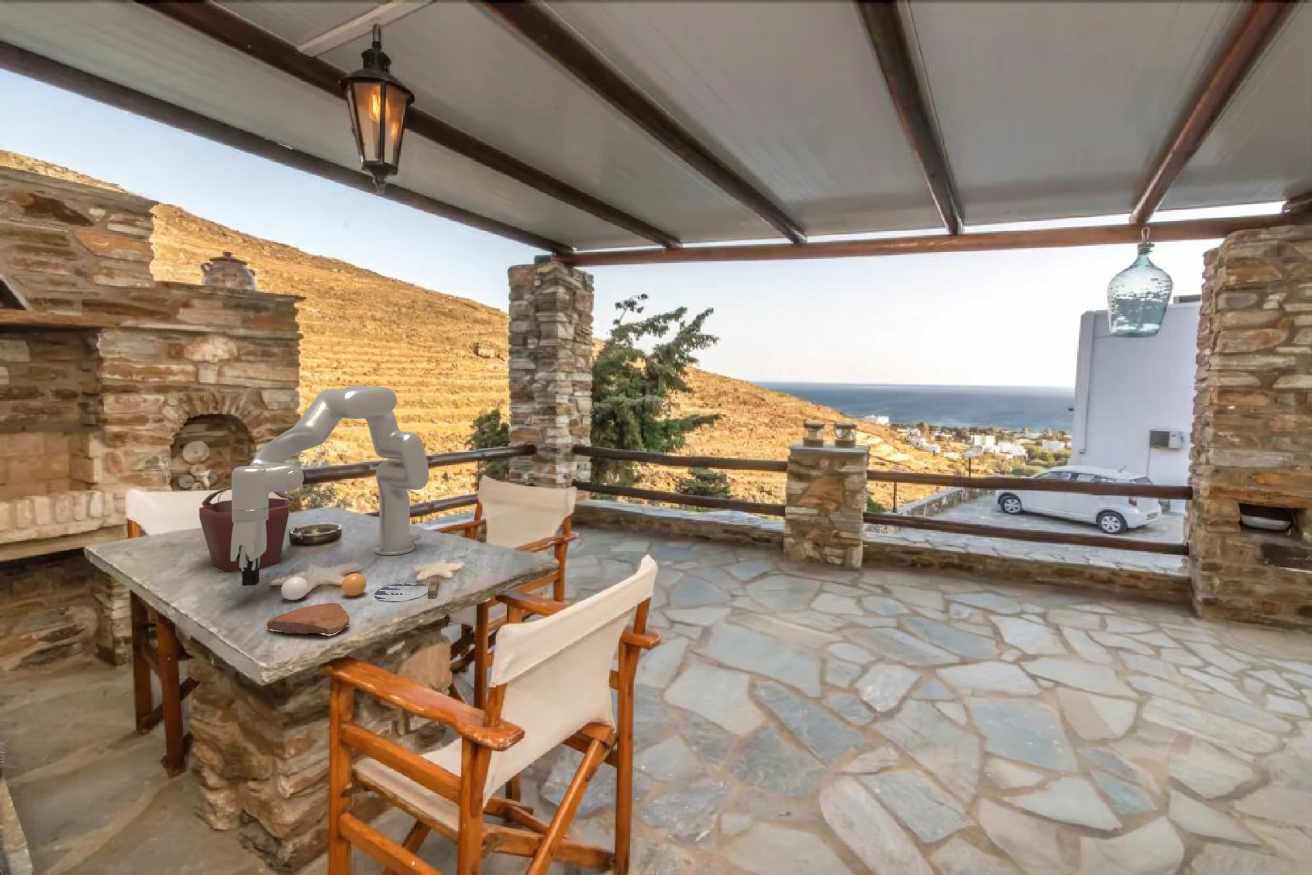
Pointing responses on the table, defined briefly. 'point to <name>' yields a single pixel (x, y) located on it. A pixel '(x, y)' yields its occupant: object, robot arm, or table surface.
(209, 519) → the bucket
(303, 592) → the cue ball
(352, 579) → the object ball
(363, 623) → the table surface
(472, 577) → the table surface
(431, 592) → the stopper rail
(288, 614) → the ceramic shard
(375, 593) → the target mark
